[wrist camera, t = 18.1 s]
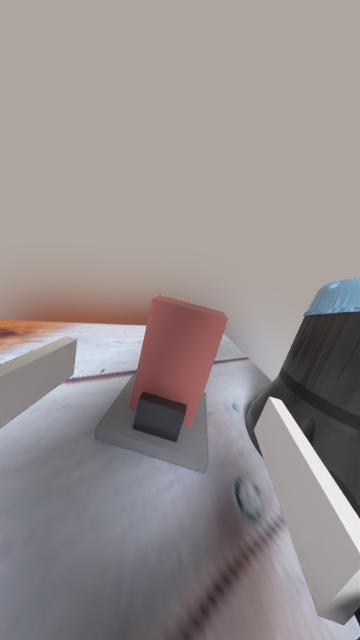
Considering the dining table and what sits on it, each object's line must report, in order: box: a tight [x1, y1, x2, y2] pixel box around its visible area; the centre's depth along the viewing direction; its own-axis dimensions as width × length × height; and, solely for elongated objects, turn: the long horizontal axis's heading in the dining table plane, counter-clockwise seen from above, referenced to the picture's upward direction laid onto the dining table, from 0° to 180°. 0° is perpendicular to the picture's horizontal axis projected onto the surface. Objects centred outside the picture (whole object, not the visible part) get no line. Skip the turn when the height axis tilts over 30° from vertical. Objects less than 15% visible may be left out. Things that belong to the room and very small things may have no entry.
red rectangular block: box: [129, 295, 228, 427], centre depth 21 cm, size 8×4×14 cm, turn 83°
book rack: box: [95, 372, 208, 473], centre depth 23 cm, size 12×11×6 cm
